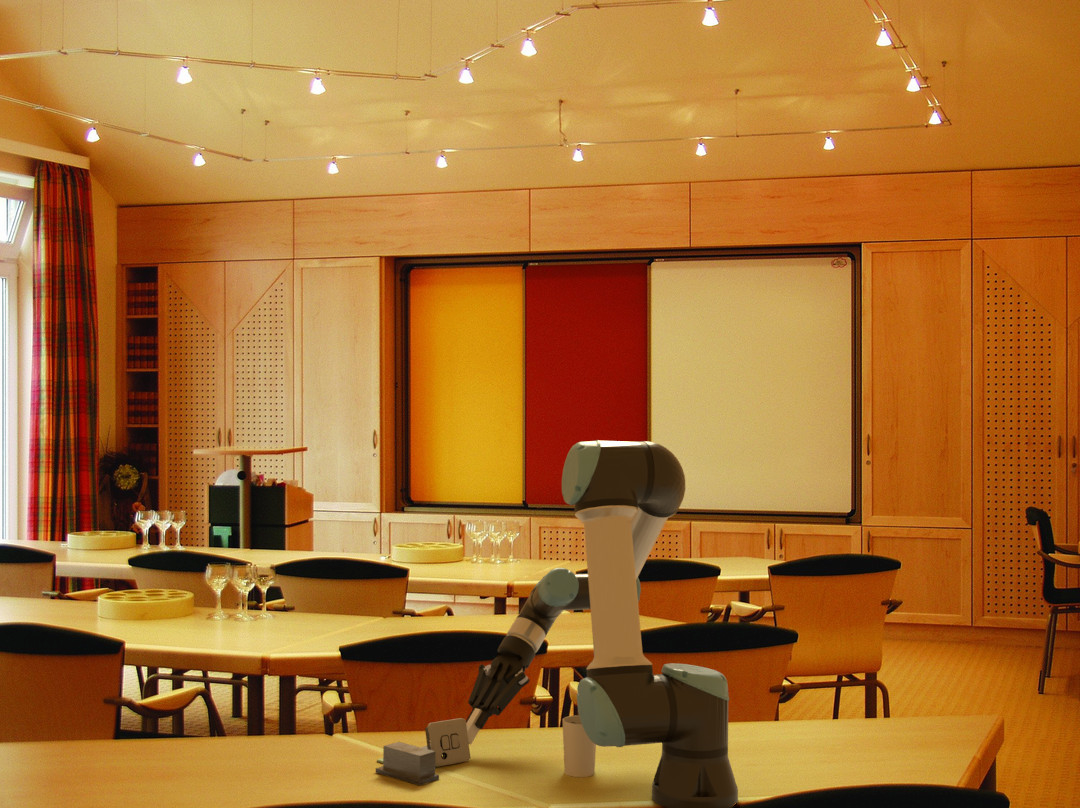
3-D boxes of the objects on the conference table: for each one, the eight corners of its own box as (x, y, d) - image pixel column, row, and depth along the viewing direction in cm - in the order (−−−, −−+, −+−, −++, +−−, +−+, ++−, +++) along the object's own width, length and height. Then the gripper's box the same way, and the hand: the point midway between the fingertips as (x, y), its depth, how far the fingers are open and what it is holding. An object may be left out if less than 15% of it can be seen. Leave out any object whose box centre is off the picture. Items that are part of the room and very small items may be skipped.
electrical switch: (434, 768, 208) (432, 724, 210) (422, 765, 212) (421, 721, 213) (471, 761, 213) (469, 718, 214) (459, 758, 217) (457, 716, 218)
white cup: (567, 779, 203) (568, 725, 203) (557, 768, 209) (558, 716, 210) (601, 776, 205) (601, 722, 205) (590, 766, 211) (590, 714, 211)
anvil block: (438, 779, 202) (439, 752, 202) (419, 785, 198) (419, 758, 198) (395, 766, 209) (395, 740, 210) (375, 772, 206) (376, 746, 206)
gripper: (552, 659, 227) (497, 756, 214) (506, 651, 236) (451, 744, 223) (536, 637, 224) (479, 735, 210) (490, 630, 232) (433, 723, 219)
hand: (465, 739), depth 216 cm, fingers closed
